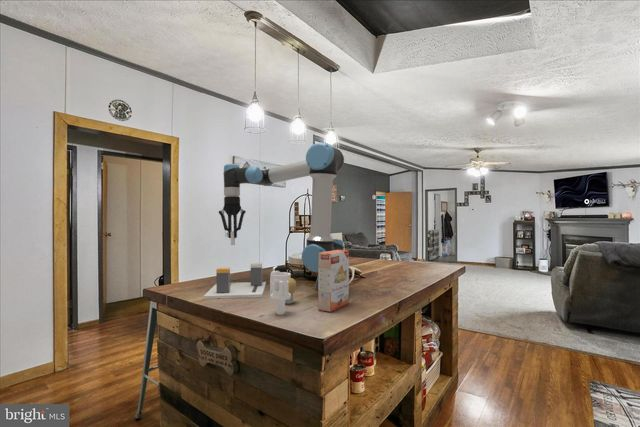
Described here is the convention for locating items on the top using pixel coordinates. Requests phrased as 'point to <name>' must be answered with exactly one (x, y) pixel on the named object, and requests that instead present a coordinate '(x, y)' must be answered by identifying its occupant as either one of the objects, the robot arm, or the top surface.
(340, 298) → the cracker box
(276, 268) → the medicine bottle
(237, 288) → the plate
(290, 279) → the light bulb
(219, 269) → the block
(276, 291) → the white stepped cylinder
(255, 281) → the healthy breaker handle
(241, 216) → the robot arm
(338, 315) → the top surface
